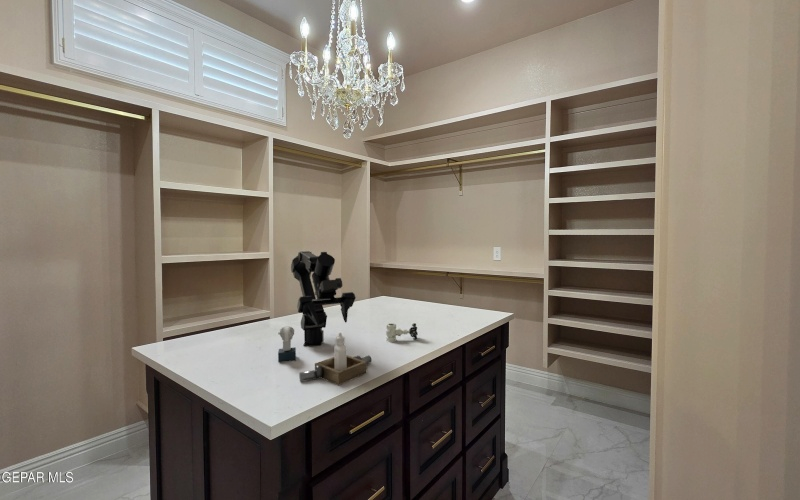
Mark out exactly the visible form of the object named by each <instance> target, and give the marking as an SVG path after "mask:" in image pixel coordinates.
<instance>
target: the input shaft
mask: <svg viewBox="0 0 800 500" xmlns="http://www.w3.org/2000/svg"><path fill="white" fill-rule="evenodd" d="M353 357H354V358H357V359H360V360H363V361H366V362H367V365H368V364H371V363H372V360H373V359H372V356H370V355H369V354H368V355H365V356H363V357H362V356H360V355H356V356H353Z"/></svg>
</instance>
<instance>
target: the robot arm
mask: <svg viewBox="0 0 800 500" xmlns="http://www.w3.org/2000/svg"><path fill="white" fill-rule="evenodd" d="M335 261H336V259H335V258H334V257H333V256H332V255H331V254H329V253H327V251H320V255H316V254H314V253H312V251H309V250H308V251H307V250H306V251H299V252H298V254H297V256H295V257H294V258H293V259H292V260H291V264H290V265H291V266H290V271H291V273H292V274H293V275H292V276H293V278H294V279H296V280H297V281H298V282H299V286H300V292H301V295H302V296H300V297H299V298H298V301H297V305H296V306H297V307H296V308H297V312H298V313H299V314H300V313H301V314H302V316H301V320H300V328H301V329H302V330H303V332H304V334H303V335H304V337H303V338H304V339H303V340H304V343H303V346H304V347H311V346H312V347H316V346H317V347H318V346H322V344H323V343H324V341H325V338H324V337H325V335H324V330H323V328H324V329H325V328H326V326H327V318H328V315H327V313H326V311H325V310H324V307H323V306H328V305H330V306H331V305H337V304H339V305H340V311H341V314H342V318H343V321H344V323H347V322H348V312H349V309H350V308H352V307H353V305H354V303H355V300H356V298H357V297H356V294H355V293H354V292H353V291H351V292H342V295H341V297H335V296H336V295H337V290H338V289H341V288H342V287H343V280H342V278H341V277H339V278H338V277H337V278H335V279H330V276H331V274H332V272H333V268H334V266H335ZM311 278H312V280H311Z"/></svg>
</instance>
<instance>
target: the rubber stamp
mask: <svg viewBox="0 0 800 500" xmlns="http://www.w3.org/2000/svg"><path fill="white" fill-rule="evenodd" d="M278 335H279V336H280V337H281V340H282V348H278V352H277V359H278V360H277V362H278V363H284V362H285V363H286V362H292V361H293V362H294V361H295V362H296V361H297V359H296V358H297V357H296V356H297V353H296V350H297V348H296V347H291V344H292V343H291V342H292V340H293V338H294V335H295V329H294V327H292V326H288V325H287V326H283V327H281V328H280V329H279V332H278ZM278 335H277V336H278Z"/></svg>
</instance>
